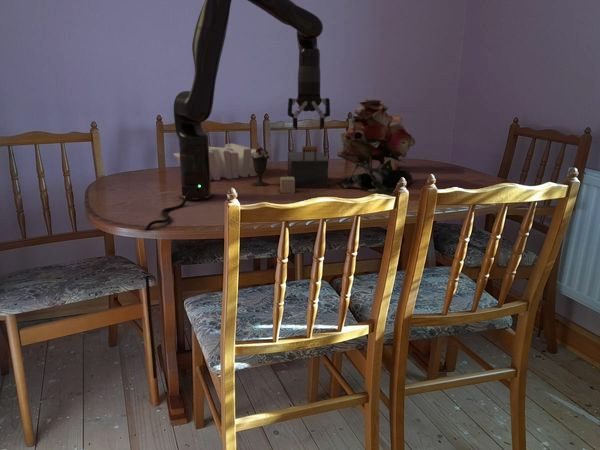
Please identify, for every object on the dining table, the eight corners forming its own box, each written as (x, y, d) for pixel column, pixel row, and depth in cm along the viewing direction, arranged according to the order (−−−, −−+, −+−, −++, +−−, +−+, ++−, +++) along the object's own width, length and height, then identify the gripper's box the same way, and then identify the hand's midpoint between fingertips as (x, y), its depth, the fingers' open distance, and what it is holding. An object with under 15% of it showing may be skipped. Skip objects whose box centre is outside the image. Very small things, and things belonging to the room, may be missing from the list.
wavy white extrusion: (185, 183, 192) (184, 154, 188) (172, 174, 205) (171, 147, 202) (273, 174, 208) (273, 147, 205) (255, 167, 222) (255, 141, 219)
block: (294, 192, 180) (294, 179, 179) (281, 193, 180) (281, 179, 178) (293, 189, 185) (293, 176, 183) (280, 189, 184) (280, 176, 183)
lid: (328, 162, 184) (328, 147, 183) (291, 163, 183) (291, 147, 182) (321, 154, 201) (322, 139, 200) (287, 154, 200) (287, 139, 198)
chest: (327, 187, 188) (328, 162, 185) (291, 188, 187) (291, 162, 184) (321, 177, 204) (321, 154, 201) (287, 177, 203) (287, 154, 200)
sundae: (252, 186, 188) (252, 144, 183) (249, 182, 194) (248, 141, 190) (271, 186, 190) (271, 143, 185) (267, 181, 196) (267, 140, 191)
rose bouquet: (418, 180, 200) (424, 98, 191) (389, 196, 176) (394, 103, 167) (355, 173, 213) (358, 95, 204) (320, 187, 189) (322, 99, 180)
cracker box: (396, 173, 213) (399, 119, 207) (380, 172, 215) (383, 119, 209) (399, 166, 226) (402, 116, 220) (384, 165, 228) (387, 115, 222)
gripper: (288, 80, 174) (288, 131, 179) (332, 80, 175) (330, 130, 180) (286, 79, 181) (286, 128, 186) (328, 79, 182) (327, 127, 187)
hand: (308, 129), depth 183 cm, fingers open, 8 cm apart
